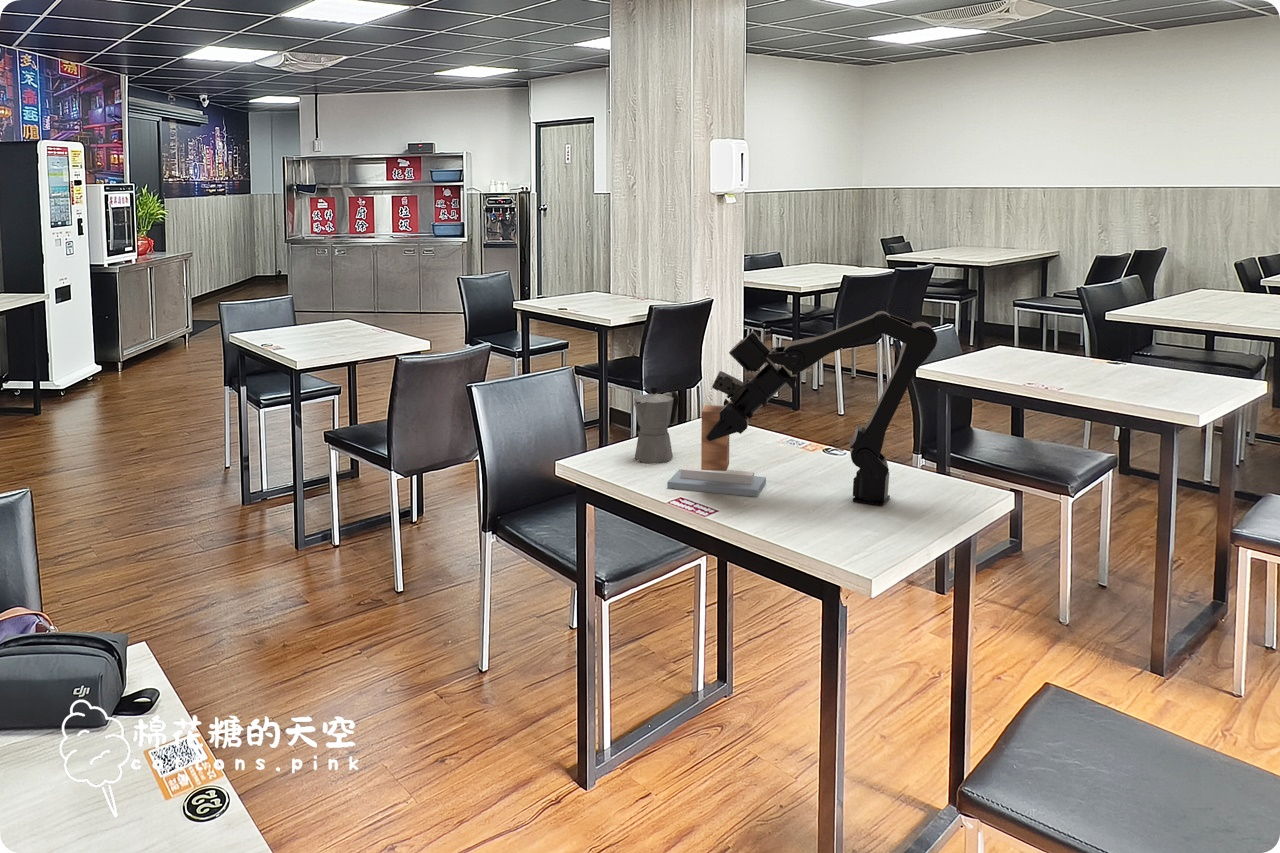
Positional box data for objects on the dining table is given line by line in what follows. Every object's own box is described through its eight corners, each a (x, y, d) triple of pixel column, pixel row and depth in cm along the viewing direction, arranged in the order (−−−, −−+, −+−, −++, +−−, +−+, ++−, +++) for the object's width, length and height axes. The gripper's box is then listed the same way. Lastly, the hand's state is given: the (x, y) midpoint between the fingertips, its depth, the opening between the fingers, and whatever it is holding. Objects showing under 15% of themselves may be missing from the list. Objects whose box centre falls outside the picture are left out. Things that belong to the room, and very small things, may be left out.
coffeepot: (649, 468, 237) (649, 393, 232) (620, 460, 243) (620, 387, 239) (692, 455, 248) (693, 383, 243) (663, 448, 254) (663, 378, 250)
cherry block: (729, 463, 220) (729, 406, 217) (726, 471, 215) (727, 412, 212) (704, 462, 221) (704, 405, 218) (701, 470, 216) (701, 411, 213)
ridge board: (765, 483, 225) (766, 468, 224) (756, 496, 216) (757, 481, 215) (679, 475, 231) (679, 460, 230) (667, 488, 222) (667, 473, 221)
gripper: (739, 352, 220) (688, 399, 225) (731, 368, 203) (676, 419, 207) (774, 388, 221) (723, 435, 226) (770, 407, 203) (714, 458, 208)
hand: (709, 435), depth 216 cm, fingers closed on cherry block, 5 cm apart
